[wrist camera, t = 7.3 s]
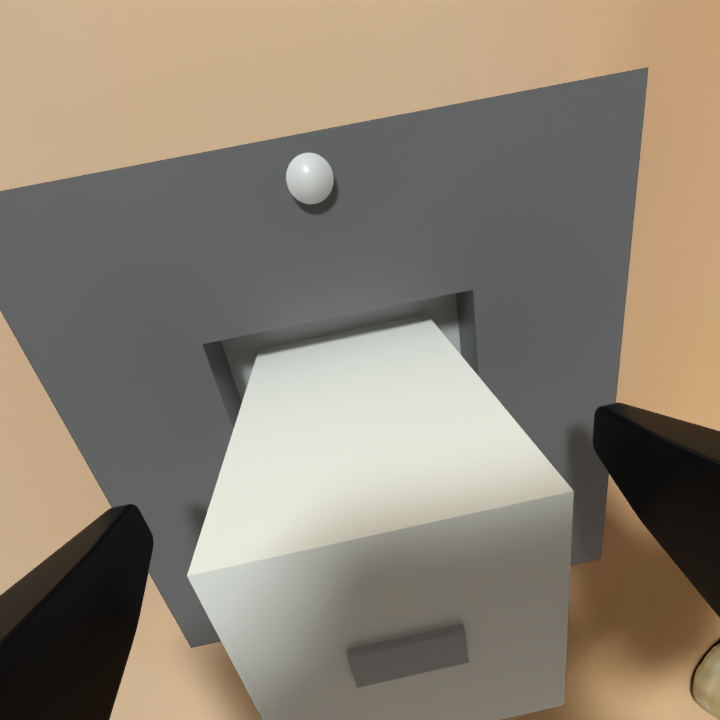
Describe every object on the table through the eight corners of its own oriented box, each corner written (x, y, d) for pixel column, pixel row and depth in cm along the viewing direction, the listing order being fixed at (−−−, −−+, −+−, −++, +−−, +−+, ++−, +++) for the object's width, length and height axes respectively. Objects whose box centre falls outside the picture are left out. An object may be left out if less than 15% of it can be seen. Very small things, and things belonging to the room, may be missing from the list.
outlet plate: (593, 85, 8) (657, 64, 7) (570, 519, 13) (604, 564, 12) (2, 198, 8) (-71, 203, 7) (203, 598, 13) (189, 655, 12)
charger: (426, 314, 10) (579, 498, 4) (443, 450, 11) (568, 714, 6) (259, 349, 10) (184, 584, 4) (300, 481, 11) (287, 777, 6)
